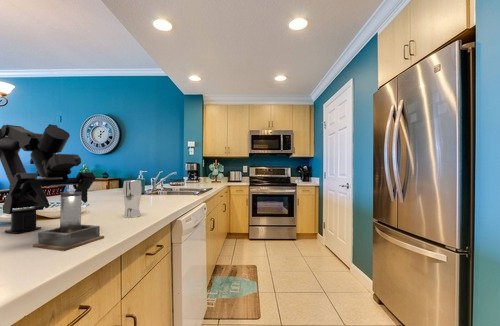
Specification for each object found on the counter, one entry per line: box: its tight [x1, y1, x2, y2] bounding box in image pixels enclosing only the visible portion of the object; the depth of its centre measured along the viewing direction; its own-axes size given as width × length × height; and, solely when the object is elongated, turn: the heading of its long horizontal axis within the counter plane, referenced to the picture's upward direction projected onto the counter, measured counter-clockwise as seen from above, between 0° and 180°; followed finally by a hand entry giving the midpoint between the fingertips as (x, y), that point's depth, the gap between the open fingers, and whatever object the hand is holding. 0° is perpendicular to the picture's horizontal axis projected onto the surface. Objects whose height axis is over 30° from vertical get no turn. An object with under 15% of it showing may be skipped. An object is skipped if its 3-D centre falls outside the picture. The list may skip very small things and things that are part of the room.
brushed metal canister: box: [59, 190, 82, 233], centre depth 63 cm, size 4×4×13 cm
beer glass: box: [122, 179, 143, 219], centre depth 98 cm, size 7×7×15 cm
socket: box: [32, 223, 105, 252], centre depth 63 cm, size 11×11×4 cm
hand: (68, 204), depth 64 cm, fingers open, 9 cm apart
